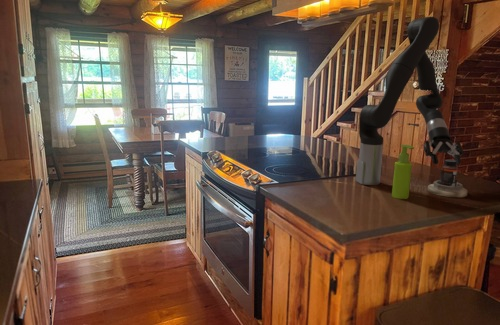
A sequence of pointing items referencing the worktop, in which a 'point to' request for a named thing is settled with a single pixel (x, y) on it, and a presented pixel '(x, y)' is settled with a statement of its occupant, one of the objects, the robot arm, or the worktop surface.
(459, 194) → the collar plate
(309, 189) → the worktop surface
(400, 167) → the soap dispenser
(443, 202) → the worktop surface
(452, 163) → the supplement bottle
